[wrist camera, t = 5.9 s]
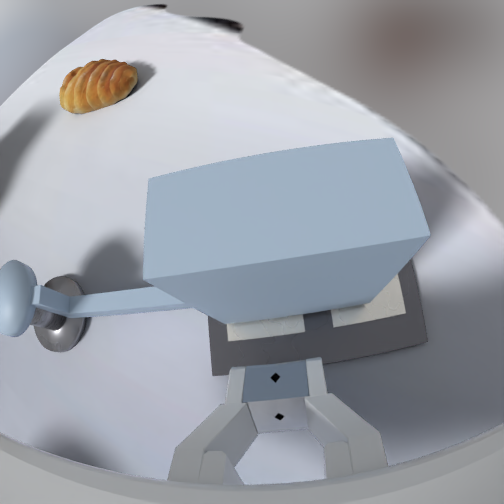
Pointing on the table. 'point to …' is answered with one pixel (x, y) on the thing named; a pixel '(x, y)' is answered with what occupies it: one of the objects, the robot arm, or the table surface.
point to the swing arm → (257, 239)
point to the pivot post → (59, 320)
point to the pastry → (97, 85)
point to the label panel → (325, 331)
